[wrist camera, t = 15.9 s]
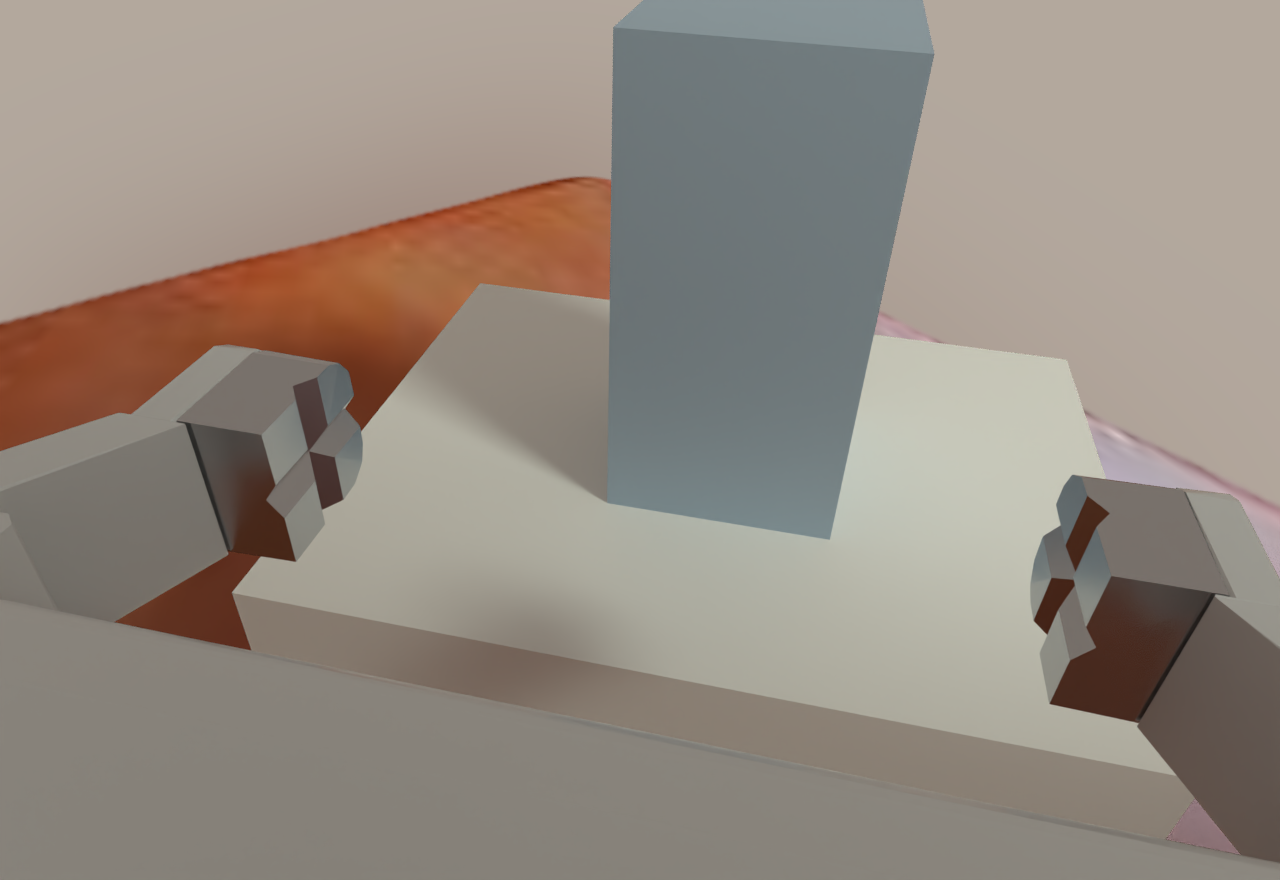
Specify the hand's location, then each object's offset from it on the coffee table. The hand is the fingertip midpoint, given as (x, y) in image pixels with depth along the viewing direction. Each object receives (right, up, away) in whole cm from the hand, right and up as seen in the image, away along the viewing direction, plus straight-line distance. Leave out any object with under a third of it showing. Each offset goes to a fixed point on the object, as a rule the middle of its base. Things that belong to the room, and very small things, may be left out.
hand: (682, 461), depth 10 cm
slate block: (+2, 0, +12) cm, 12 cm away
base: (+2, -5, +15) cm, 16 cm away
